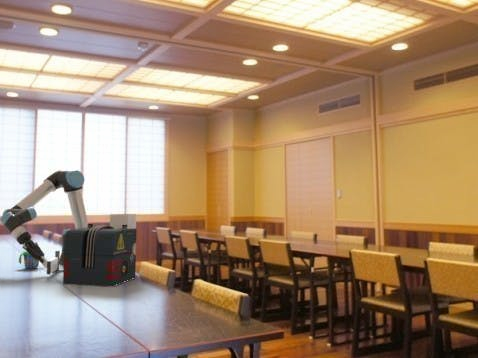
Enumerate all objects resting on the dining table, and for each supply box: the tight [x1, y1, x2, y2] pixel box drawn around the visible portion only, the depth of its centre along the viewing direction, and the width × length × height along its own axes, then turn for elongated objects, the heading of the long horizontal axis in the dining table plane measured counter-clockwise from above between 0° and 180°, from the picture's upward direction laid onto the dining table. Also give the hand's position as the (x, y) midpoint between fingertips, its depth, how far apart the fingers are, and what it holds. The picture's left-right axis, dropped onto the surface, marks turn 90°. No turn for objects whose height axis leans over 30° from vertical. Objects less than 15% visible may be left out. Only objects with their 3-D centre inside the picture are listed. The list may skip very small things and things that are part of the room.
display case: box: [109, 213, 137, 255], centre depth 283 cm, size 11×11×35 cm
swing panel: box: [46, 256, 58, 275], centre depth 273 cm, size 21×2×7 cm, turn 10°
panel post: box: [51, 250, 63, 274], centre depth 285 cm, size 8×8×12 cm
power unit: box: [62, 223, 138, 287], centre depth 255 cm, size 28×28×30 cm
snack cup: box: [18, 250, 40, 270], centre depth 300 cm, size 16×10×10 cm
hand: (48, 266), depth 271 cm, fingers closed
